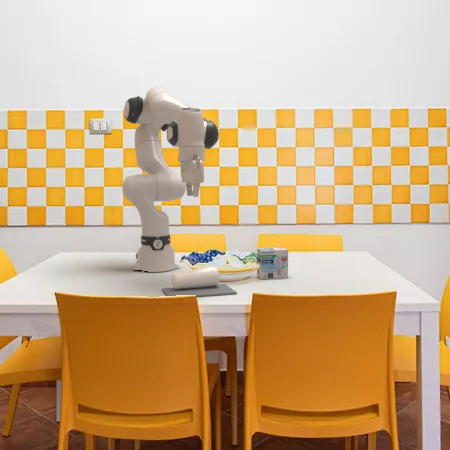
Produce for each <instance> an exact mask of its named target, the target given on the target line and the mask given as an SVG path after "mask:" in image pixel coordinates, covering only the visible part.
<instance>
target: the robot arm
mask: <svg viewBox="0 0 450 450" xmlns="http://www.w3.org/2000/svg"><path fill="white" fill-rule="evenodd" d="M123 115H124V118H125V121H126V122H128V123H130V124H135V125H136V124H137V125H139V126H137V127H136V129H135V131H134V151H135V156H136V157H135V158H136V159H135V160H136V165H137V166H138V168H139V169H140V170H141V171H143V172H145V173H146V174H144V173H143V174H142V173H140V174H133V175H129V176H126V177H125V179H124V180H123V182H122V185H121V189H122V194H123V197H124V198H125V199H126V200H127V201H129V202H130V203H131V204H132V205H134V207H135V208H136V210H137V211H138V214H139V216H140V224H141V235H140V244H141V246H140V248H138V250H137V252H136V253H135V259H136V263H135V265H134V266H133V268H132V270H133V269H134V270H142V271H141V272H144V271H148V272H147V273H160V272H162V273H163V272H169V271H173V270H176V269H179V268H180V265H178V264H176V258H175V257H176V256H175V248H174V247H173V246H172V245H171V239H172V238H171V235H170V219H169V216H168V214H167V213H166V212H165V211H162V210H161V209H158V208H156V206H155V202H171V201H176V200H180V199H182V198H183V197H184V195H185V194H186V196H188V197H194V198H198V197H199V196H200V192H199V191H200V188H201V184H203V183H204V182H205V173H204V172H205V171H204V170H205V168H204V161H205V160H206V149H208V150H210V149H211V148H213V147H214V146H215V145H216V143H217V142H218V141H219V136H220V135H219V134H220V133H219V129H218V126H217V125H216V124H215V123H214V122H213V121H212V120H207V119H206V118H205V117H204V114H203V111H202V110H201V109H199V108H194V107H190V106H188V105H186V104H184V103H183V102H182V101H180V100H178V99H177V98H176V97H175V96H174V95H173V94H172V93H171V92H170V91H169V90H167V89H166V88H164V87H162V86H153V87H151V88H150V89H149V90H148V91H147V93H146V95H145V97H141V96H140V95H138V96H135V97H130V98H129V99H127V100H126V101H125V104H124V107H123ZM160 131H162V132H166V140H167V142H168V143H169V144H170V145H171V146H172V147H175V148H178V156H177V157H178V158H177V159H178V162H179V167H180V174H178V173H176V172H174V171H173V170H172V168H170V167H169V166H168V164H167V162H166V161H165V157H164V154H163V148H162V143H161V137H160Z"/></svg>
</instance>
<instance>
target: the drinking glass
mask: <svg viewBox="0 0 450 450" xmlns="http://www.w3.org/2000/svg"><path fill="white" fill-rule="evenodd" d="M171 284H172V288H174V289H175V290H177V289H187V288H202V287H211V286H216V285H218V284H220V273H219V270H218V268H217V266H216V265H215V266H214V265H212V266H210V265H209V266H205V267H199V268H194V269H190V270H186V271H181V272H176V273H172V275H171Z"/></svg>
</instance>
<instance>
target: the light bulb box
mask: <svg viewBox="0 0 450 450" xmlns="http://www.w3.org/2000/svg"><path fill="white" fill-rule="evenodd" d="M257 263H258V264H259V268H258V269H257V268H256V276H257V277H258V278H259V279H261V280H271V279H272V280H273V279H276V280H277V279H288V278H289V249H287V248H285V247H282V246H281V247H264V248H263V247H262V248H261V247H260V248H259V247H257V249H256V264H257Z"/></svg>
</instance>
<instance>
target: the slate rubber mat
mask: <svg viewBox="0 0 450 450" xmlns="http://www.w3.org/2000/svg"><path fill="white" fill-rule="evenodd" d="M161 290H163V291H162V293H164V295H165V294H166V295H165V296H166V297H167V296H176V295H196V296H197V297H196V298H202V297H203V296H207V297H218V296H231V295H232V296H233V295H237V294H238V292H237V291H236V290H234V289H233V288H232V287H230V286H229V285H227V284H226V283H221V284H220V283H219V284H218V285H216V286H211V287H202V288H187V289H177V290H175V289H174V288H173V287H164V288H161ZM203 298H204V297H203Z"/></svg>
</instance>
